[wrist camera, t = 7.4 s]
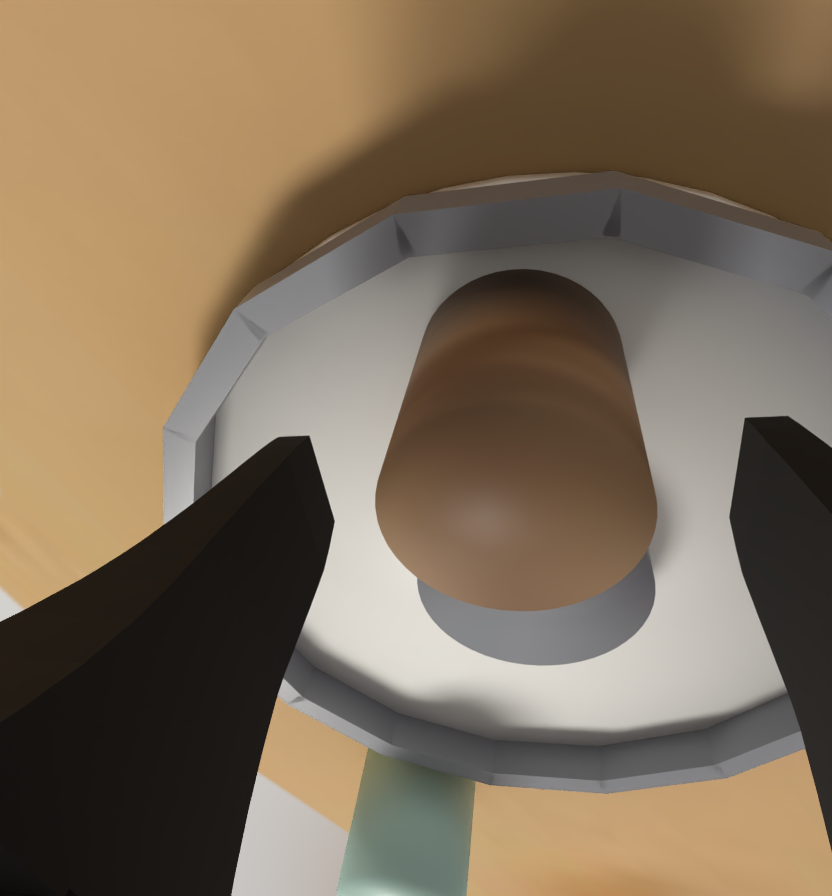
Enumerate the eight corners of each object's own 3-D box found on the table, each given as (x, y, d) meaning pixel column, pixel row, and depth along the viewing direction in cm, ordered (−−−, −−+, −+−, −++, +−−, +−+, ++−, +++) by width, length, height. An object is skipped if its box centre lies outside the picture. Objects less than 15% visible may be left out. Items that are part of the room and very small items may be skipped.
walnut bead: (626, 258, 13) (666, 392, 9) (620, 443, 15) (650, 613, 11) (404, 279, 13) (349, 408, 10) (434, 450, 16) (399, 609, 12)
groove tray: (1116, 99, 10) (1207, 120, 9) (847, 757, 22) (869, 813, 20) (70, 229, 15) (19, 257, 13) (294, 725, 26) (279, 769, 24)
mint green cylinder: (469, 733, 24) (456, 883, 20) (481, 794, 27) (471, 937, 23) (357, 727, 25) (323, 869, 21) (378, 785, 28) (351, 922, 24)
